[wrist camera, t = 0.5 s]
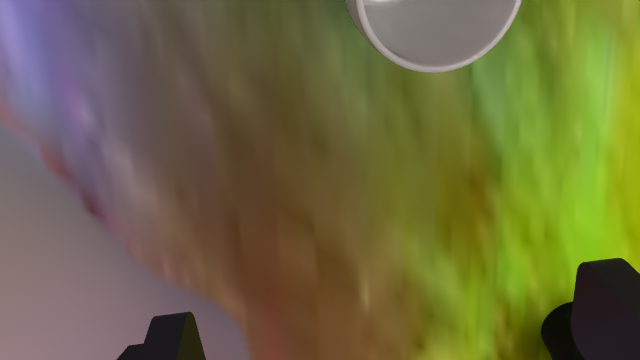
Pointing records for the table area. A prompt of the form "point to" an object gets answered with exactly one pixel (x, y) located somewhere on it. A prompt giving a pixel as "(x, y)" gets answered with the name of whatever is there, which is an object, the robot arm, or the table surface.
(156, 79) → the table surface
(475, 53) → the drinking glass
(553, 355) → the cup
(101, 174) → the table surface
